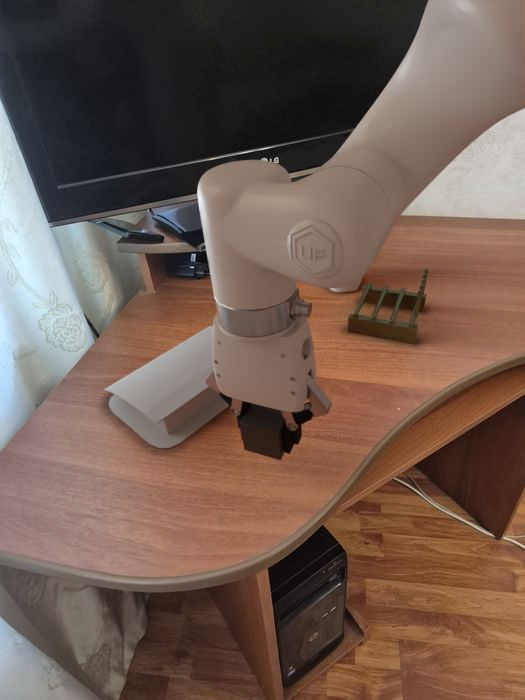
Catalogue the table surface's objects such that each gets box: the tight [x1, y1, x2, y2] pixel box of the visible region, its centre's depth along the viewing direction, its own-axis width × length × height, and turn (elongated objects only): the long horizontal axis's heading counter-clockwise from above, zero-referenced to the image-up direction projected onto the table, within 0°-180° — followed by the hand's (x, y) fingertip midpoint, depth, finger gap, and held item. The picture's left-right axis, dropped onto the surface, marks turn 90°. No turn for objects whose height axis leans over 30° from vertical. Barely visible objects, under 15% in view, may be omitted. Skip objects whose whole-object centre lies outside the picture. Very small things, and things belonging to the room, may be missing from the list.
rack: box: [347, 267, 429, 345], centre depth 74 cm, size 11×11×9 cm
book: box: [104, 325, 231, 449], centre depth 65 cm, size 15×23×4 cm, turn 137°
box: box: [240, 403, 286, 461], centre depth 50 cm, size 5×5×5 cm
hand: (270, 437), depth 52 cm, fingers closed on box, 4 cm apart
